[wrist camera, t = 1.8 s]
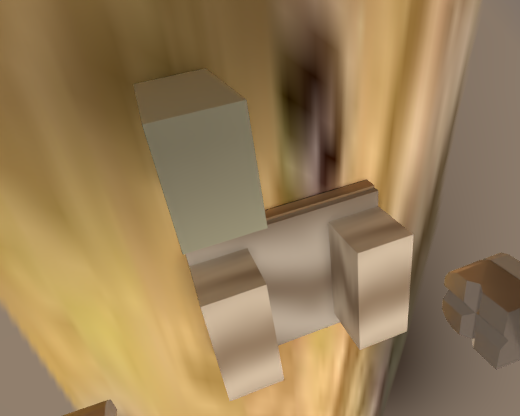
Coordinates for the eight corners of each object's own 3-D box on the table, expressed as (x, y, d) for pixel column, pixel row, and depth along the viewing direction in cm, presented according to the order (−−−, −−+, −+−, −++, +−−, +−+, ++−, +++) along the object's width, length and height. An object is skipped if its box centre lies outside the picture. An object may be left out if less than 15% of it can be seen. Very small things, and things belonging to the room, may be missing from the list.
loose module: (133, 84, 21) (141, 124, 14) (205, 68, 22) (246, 99, 15) (164, 186, 24) (184, 259, 17) (226, 169, 25) (268, 232, 18)
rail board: (180, 235, 26) (194, 287, 21) (366, 179, 29) (414, 214, 24) (216, 354, 32) (234, 414, 27) (367, 298, 35) (405, 344, 30)
